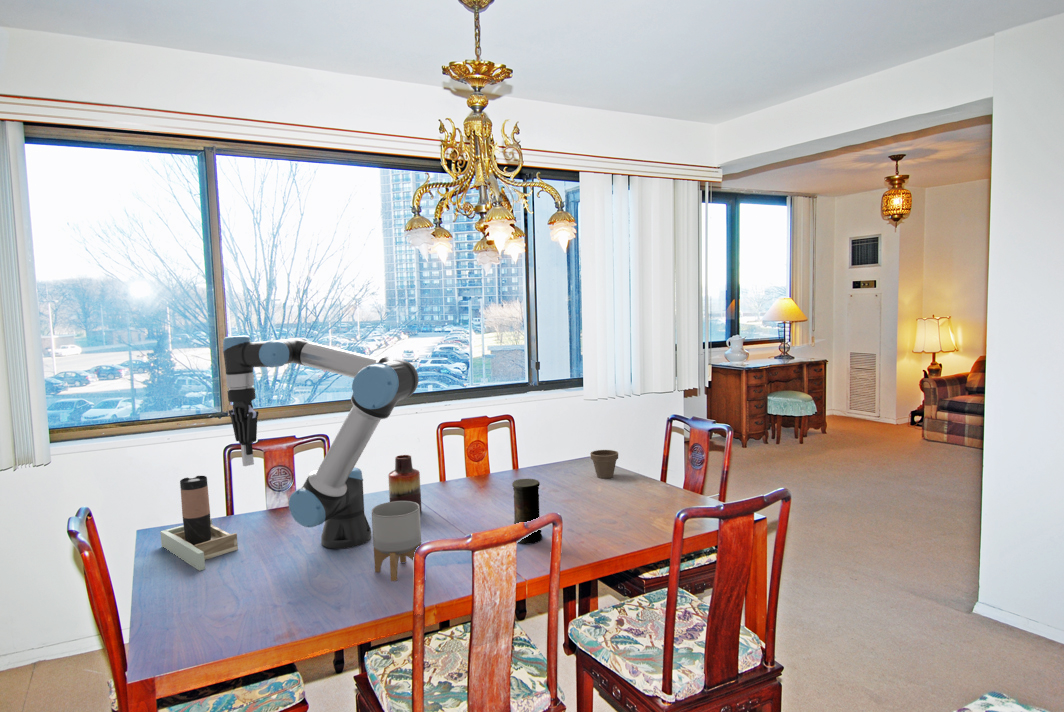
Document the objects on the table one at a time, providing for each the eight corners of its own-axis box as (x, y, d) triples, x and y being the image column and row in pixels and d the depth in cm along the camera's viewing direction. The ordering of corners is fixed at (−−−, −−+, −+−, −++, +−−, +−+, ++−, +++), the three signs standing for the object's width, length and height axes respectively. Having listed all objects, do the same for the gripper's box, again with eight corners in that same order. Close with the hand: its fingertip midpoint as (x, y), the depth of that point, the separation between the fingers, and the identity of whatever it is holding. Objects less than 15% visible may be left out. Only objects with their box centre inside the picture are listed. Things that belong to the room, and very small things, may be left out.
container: (512, 534, 204) (510, 478, 202) (540, 532, 204) (538, 477, 203) (513, 545, 195) (511, 487, 193) (543, 543, 196) (541, 485, 194)
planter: (417, 580, 173) (414, 515, 171) (369, 581, 173) (365, 516, 171) (426, 560, 186) (423, 500, 184) (381, 561, 186) (378, 501, 184)
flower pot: (591, 472, 272) (591, 449, 271) (618, 472, 270) (618, 449, 269) (590, 480, 260) (589, 455, 259) (618, 480, 259) (618, 456, 258)
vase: (384, 517, 224) (381, 459, 222) (401, 507, 234) (398, 452, 232) (410, 520, 220) (407, 461, 218) (427, 510, 230) (424, 453, 228)
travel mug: (200, 546, 198) (195, 482, 196) (179, 545, 200) (173, 482, 198) (217, 537, 206) (212, 475, 204) (196, 536, 207) (191, 475, 205)
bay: (251, 553, 194) (250, 537, 194) (199, 570, 183) (198, 553, 183) (211, 532, 213) (209, 518, 213) (161, 546, 202) (160, 531, 202)
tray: (238, 549, 198) (236, 533, 198) (197, 562, 189) (195, 545, 189) (210, 534, 211) (209, 520, 211) (170, 546, 202) (169, 530, 202)
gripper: (264, 386, 192) (271, 464, 194) (241, 385, 200) (248, 459, 202) (240, 390, 186) (248, 470, 188) (217, 388, 194) (225, 465, 196)
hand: (248, 464), depth 195 cm, fingers closed
